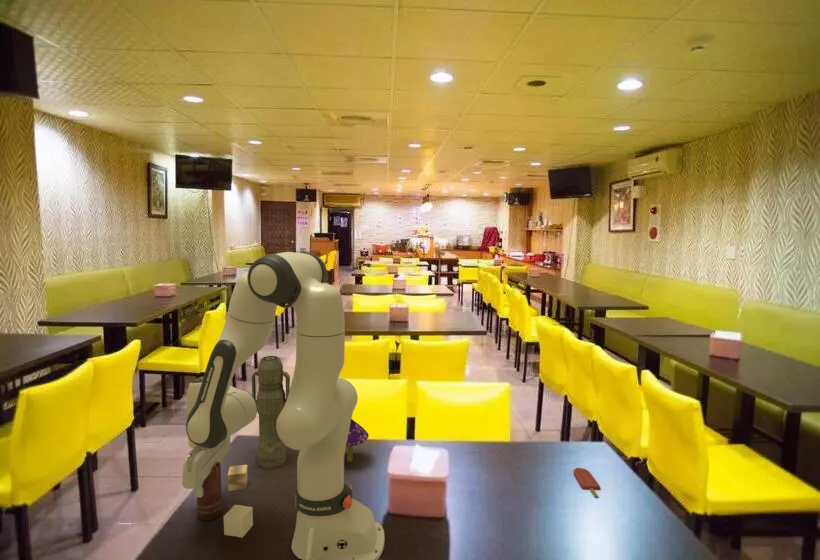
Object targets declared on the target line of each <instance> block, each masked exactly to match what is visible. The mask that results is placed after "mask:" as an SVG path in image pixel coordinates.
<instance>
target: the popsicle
mask: <svg viewBox="0 0 820 560" xmlns="http://www.w3.org/2000/svg"><path fill="white" fill-rule="evenodd" d="M573 477H574V478H575V480H576V482H577V483H578V485H579V487H580V488H581V490H584V491H590V492H591V494H592V495H593V496H594V498H599V495H598V493H597V491H600V490H601V486H600V484H599V483H598V481H597V480H596V479H595V477H594V476H593V475H592V472H590V471H589V470H588V469H585V468H582V467H575V468H574V469H573Z"/></svg>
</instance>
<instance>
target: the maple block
mask: <svg viewBox="0 0 820 560" xmlns="http://www.w3.org/2000/svg"><path fill="white" fill-rule="evenodd" d="M248 472H249V470H248V464H242V465H241V464H240V465H231V466H229V468H228V473H227V491H228V492H232V491H239V490H240V491H241V490H246V489H247V486H248V481H249V479H248V478H249V477H248V476H249V475H248V474H249V473H248Z"/></svg>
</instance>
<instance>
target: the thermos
mask: <svg viewBox="0 0 820 560" xmlns="http://www.w3.org/2000/svg"><path fill="white" fill-rule="evenodd" d="M256 376H257V380H258V388H257V387H256ZM284 378H285V389H284V384H283V381H284ZM290 382H291V376H290V374H289V373H288V372H287V371H284V365H283V363H282V361H281V358H280V357H279V356H276V355H268V356H267V355H266V356H263V357H262V358H260V360H259V363H258V366H257V370H255V372H253V374H252V376H251V395H252V396H253V397H254V399H255V401H256V404H257V414H258V432H259V433H258V436H259V437H258V438H259V443H258V447H257V457H258V466H259V467H260V466H261V467H260V468H263V469H267V470H271V469H277V468H281V467H282V466H284V465H285V464H286V463H287V453H288V452H287V451H288V450H287V446H286V445H285V444H284V443H283V442H282V441H281V439H280V438H279V436H278V433H277V429H276V422H277V418H278V416H279V414H280V413H281V411H282V409H283V407H284V405H285V403H286V400H287V398H288V394H289V391H290V387H291V383H290ZM256 389H258V391H256Z"/></svg>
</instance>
